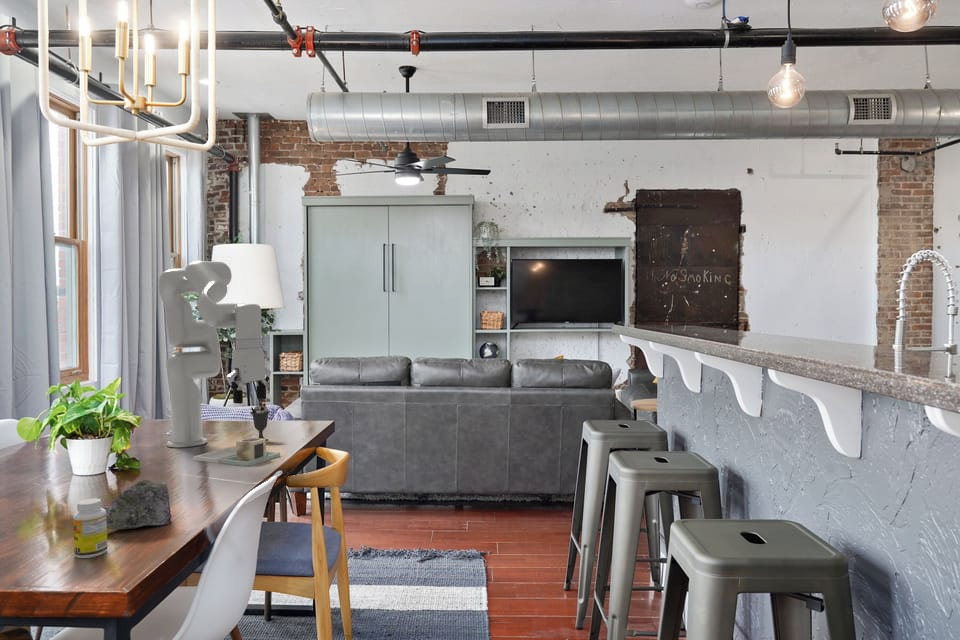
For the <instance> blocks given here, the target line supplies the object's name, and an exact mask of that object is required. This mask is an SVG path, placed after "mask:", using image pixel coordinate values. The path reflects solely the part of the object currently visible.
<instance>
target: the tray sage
mask: <svg viewBox="0 0 960 640" xmlns="http://www.w3.org/2000/svg"><path fill="white" fill-rule="evenodd" d="M279 457H281V452H278V451H277V452H276V451H267V450H266V456H264V457H261V458H258V459H254V460H251V461H248V462H245V461H237V455H236V456H233V457H229V458H226V459H222V460H221V461H222V462H221V464H223V465H231V466H240V467H241V466H242V467H250V466H252V465H257V464H260V463H262V462H266V461H269V460H273V459H276V458H279Z"/></svg>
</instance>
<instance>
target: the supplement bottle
mask: <svg viewBox="0 0 960 640" xmlns="http://www.w3.org/2000/svg"><path fill="white" fill-rule="evenodd" d="M76 505H77V507H76V509H77V511H76V512H75V513H73V515H72V523H73V524H72V531H73V549H74V551H73V552H74V556H75V557H76V558H78V559H91V558H96V557H99V556H102V555H104V553H106V552H107V551H108V529H107V519H106V510H105V509H103V508H104V507H102V500H101V499H100V498H87V499H82V500H80V501H78V502H77V504H76Z"/></svg>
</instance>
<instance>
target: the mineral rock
mask: <svg viewBox="0 0 960 640" xmlns="http://www.w3.org/2000/svg"><path fill="white" fill-rule="evenodd" d="M170 504H171V503H170V494H169V488H168V484H167V482H166V481H157V482H152V481H151V480H149V479H141V480H139V481H138V482H136V483H134V484H133V485H132V486H131V487H129V489H126V490H125V491H123V492H121V494H119V495H117V496H116V497H115V498H114V500H113V501H112V502H111V503H110V504H108V505H107V506H104V507H102V508H103V509H105V510H106V519H107V530H115V529H116V530H127V529H128V530H129V529H130V530H131V529H132V530H133V529H137V528H141V527H148V526H163V525H169V524H170V523H171V520H172V514H171V512H172V511H171V507H170Z"/></svg>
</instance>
